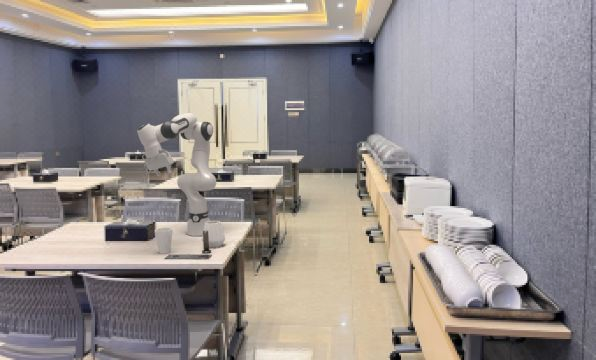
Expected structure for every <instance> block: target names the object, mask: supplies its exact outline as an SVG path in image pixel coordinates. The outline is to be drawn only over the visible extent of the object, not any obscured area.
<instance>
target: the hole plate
mask: <svg viewBox="0 0 596 360" xmlns="http://www.w3.org/2000/svg"><path fill="white" fill-rule="evenodd" d="M212 256H213V254H195V253H194V254H172V253H171V254H169V253H168V255H166V256H165V257H164V260H209V259H210V258H212Z"/></svg>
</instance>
